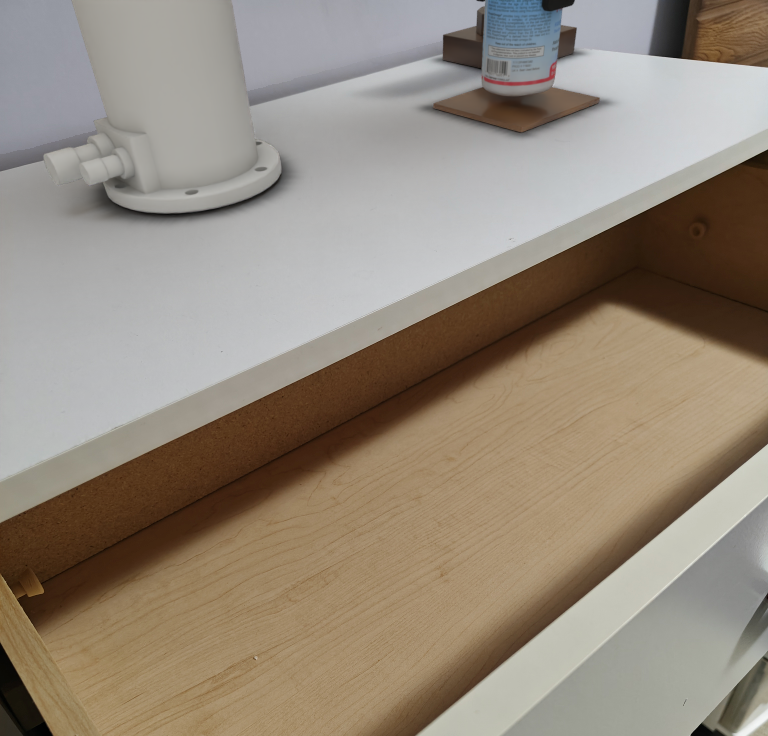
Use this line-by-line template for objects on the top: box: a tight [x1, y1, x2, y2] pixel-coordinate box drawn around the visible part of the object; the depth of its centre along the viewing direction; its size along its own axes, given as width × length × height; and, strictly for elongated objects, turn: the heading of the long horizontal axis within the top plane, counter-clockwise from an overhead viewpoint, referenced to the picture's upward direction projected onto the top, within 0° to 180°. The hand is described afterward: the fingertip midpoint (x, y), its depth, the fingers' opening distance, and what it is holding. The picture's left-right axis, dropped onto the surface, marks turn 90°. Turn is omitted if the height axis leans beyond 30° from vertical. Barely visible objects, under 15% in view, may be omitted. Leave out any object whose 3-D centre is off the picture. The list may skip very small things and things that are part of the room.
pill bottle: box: [480, 0, 564, 96], centre depth 53 cm, size 6×6×11 cm
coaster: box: [432, 86, 601, 133], centre depth 58 cm, size 10×10×1 cm
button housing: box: [442, 5, 578, 69], centre depth 68 cm, size 10×9×4 cm
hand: (523, 0), depth 53 cm, fingers closed on pill bottle, 6 cm apart
